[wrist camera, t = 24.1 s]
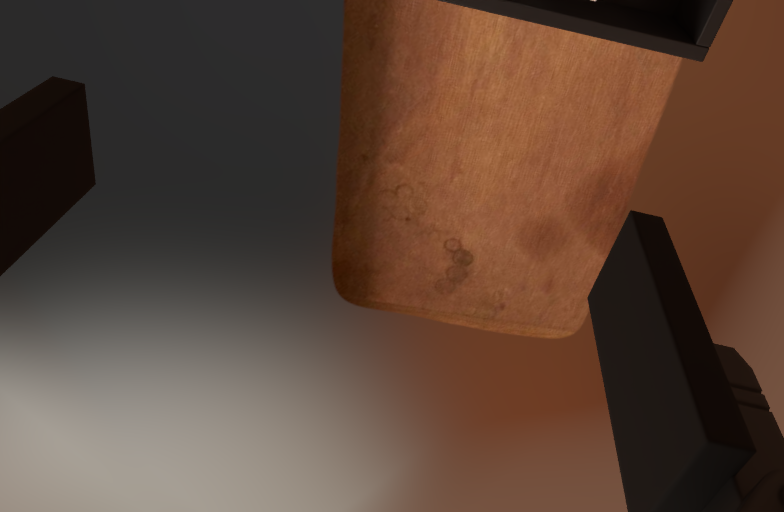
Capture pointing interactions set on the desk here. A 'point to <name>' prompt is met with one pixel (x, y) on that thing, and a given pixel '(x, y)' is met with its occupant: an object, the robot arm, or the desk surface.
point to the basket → (624, 20)
